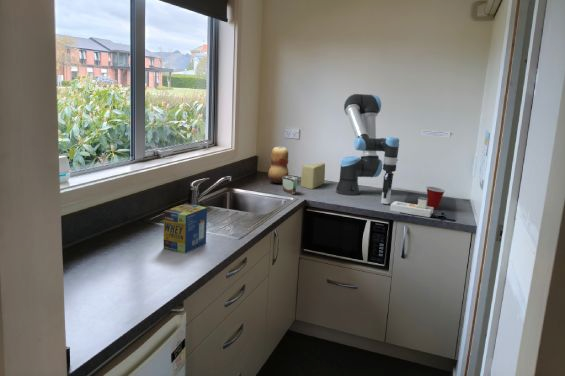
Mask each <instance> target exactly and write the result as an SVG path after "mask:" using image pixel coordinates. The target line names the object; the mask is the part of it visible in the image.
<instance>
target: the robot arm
mask: <svg viewBox="0 0 565 376" xmlns="http://www.w3.org/2000/svg"><path fill="white" fill-rule="evenodd" d="M343 108H344V109H343V110H344V114H345V115H346V116H347V117H348V120H349V122H350V126H351V128H352V130H353V134H354V136H355V139H354V142H353V144H354V149H355V150H356V151H360V152H361V151H362V155H360V156H355V155H353V156H345V157H342V159H341V160H340V168H339V169H340V173H339V180H338V183H337V186H336V188H335V193H337V194H339V195H340V194H341V195H345V196H357V195H360V186H359V183H358V181H359V178H377V177H379V176H380V175H381V172H382V170H383V171H385V173H384V175H383V183H382V189H383V191H382V190H381V193H382V192H383V200H382V203H381V204H384V203H385V204H384V205H388V204H387V199H388V188H391V192H392V187H393V180H394V179H393V177H394V173H393V172H396V171H397V163H398V161H399V159H398V155H399V148H400V138H398V137H394V136H388V137H386V138H385V137H378V138H377V135H376V134H377V130H376V125H377V124H376V123H377V121H376V120H377V119H376V117H377V116H378V115H379V113H380V112H381V109H382V102H381V99H380V97H379V96H378V95H376V94H363V93H360V94H359V93H354V94H351V95H349V96H348V97H347V98H346V99H345V101H344V104H343ZM377 152H384V156H383V161H382V159H380V158H379V157H380V156H379V155H378V154H377Z"/></svg>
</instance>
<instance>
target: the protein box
mask: <svg viewBox="0 0 565 376" xmlns="http://www.w3.org/2000/svg"><path fill="white" fill-rule="evenodd" d="M207 214H208V207H206V206H201V205H196V204H191V203H184V204H181V205H177V206H174V207H172V208H170V209H169V208H168V209H166V210H163V249H164V250H168V251H173V252H178V253H182V254H187V253H189V252H191V251H193V250H194V249H197V248H198V247H200V246H203V245H205V244H206V243H207V223H208V218H207V217H208V215H207Z"/></svg>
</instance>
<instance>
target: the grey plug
mask: <svg viewBox="0 0 565 376" xmlns="http://www.w3.org/2000/svg"><path fill="white" fill-rule="evenodd" d="M381 189H382V190H381V198H380V199H381V200H380V204H384V205H390V204H391V203H390V202H391V196H392V191H391V190H392V187H391V188H388V199H387V204H385V203H382V200H383V192H382V191H383V188H381Z"/></svg>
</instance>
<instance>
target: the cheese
mask: <svg viewBox="0 0 565 376" xmlns="http://www.w3.org/2000/svg"><path fill="white" fill-rule="evenodd" d="M325 175H326V164H325V163H324V162H319V163H315V164H307V165H302V167H301V180H300V182H301V183H300V187H301V188H303V187H305V189H308V188H309V190H313V189H316V188H317V187H319V186H322V184H323V185H324V184H325V177H326V176H325Z"/></svg>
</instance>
